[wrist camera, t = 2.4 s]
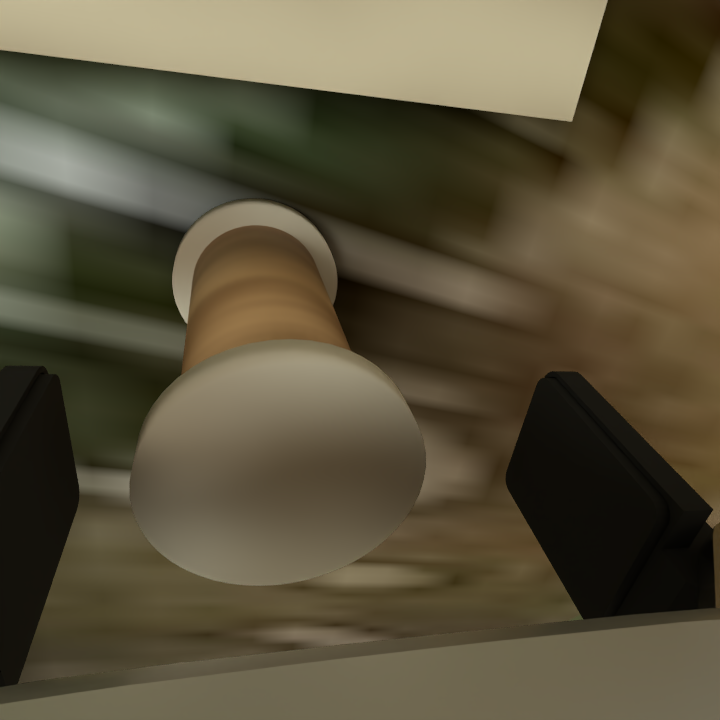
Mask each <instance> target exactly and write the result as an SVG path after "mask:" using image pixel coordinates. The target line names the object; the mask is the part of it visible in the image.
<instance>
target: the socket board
mask: <svg viewBox="0 0 720 720" xmlns="http://www.w3.org/2000/svg"><path fill="white" fill-rule="evenodd" d="M607 1H608V0H0V50H6V51H14V52H22V53H30V54H38V55H46V56H54V57H62V58H70V59H77V60H85V61H93V62H101V63H109V64H117V65H125V66H133V67H141V68H149V69H157V70H165V71H173V72H181V73H189V74H197V75H205V76H213V77H220V78H228V79H236V80H244V81H252V82H260V83H268V84H276V85H284V86H292V87H300V88H308V89H316V90H324V91H332V92H340V93H348V94H356V95H363V96H371V97H379V98H387V99H395V100H403V101H411V102H419V103H427V104H435V105H443V106H451V107H459V108H467V109H475V110H483V111H491V112H499V113H507V114H514V115H522V116H530V117H538V118H546V119H554V120H562V121H570V122H572V119H573V116H574V113H575V109H576V106H577V102H578V99H579V96H580V92H581V89H582V86H583V82H584V79H585V75H586V72H587V69H588V65H589V62H590V58H591V55H592V52H593V48H594V45H595V41H596V38H597V35H598V31H599V28H600V24H601V21H602V18H603V14H604V11H605V7H606V4H607Z"/></svg>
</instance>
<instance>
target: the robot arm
mask: <svg viewBox="0 0 720 720" xmlns="http://www.w3.org/2000/svg"><path fill="white" fill-rule="evenodd" d="M506 485H507V488H508V490H509V492H510V494H511V495H512V497H513V499H514V500H515V502H516V504H517V506H518V507H519V509H520V511H521V513H522V514H523V516H524V518H525V519H526V521H527V523H528V525H529V526H530V528H531V530H532V531H533V533H534V535H535V537H536V538H537V540H538V542H539V544H540V545H541V547H542V549H543V550H544V552H545V554H546V556H547V557H548V559H549V561H550V563H551V564H552V566H553V568H554V569H555V571H556V573H557V575H558V576H559V578H560V580H561V582H562V583H563V585H564V587H565V588H566V590H567V592H568V594H569V595H570V597H571V599H572V601H573V602H574V604H575V606H576V607H577V609H578V611H579V613H580V614H581V616H582V618H583V619H584V620H574V621H564V622H554V623H544V624H534V625H524V626H514V627H504V628H495V629H485V630H476V631H467V632H457V633H448V634H438V635H429V636H419V637H410V638H401V639H391V640H382V641H373V642H363V643H354V644H345V645H335V646H326V647H317V648H308V649H299V650H291V651H282V652H273V653H264V654H255V655H246V656H237V657H228V658H219V659H210V660H201V661H192V662H184V663H175V664H166V665H157V666H149V667H142V668H134V669H126V670H118V671H110V672H103V673H95V674H87V675H79V676H71V677H64V678H56V679H48V680H40V681H34V682H28V683H22V684H17V683H18V681H19V678H20V675H21V672H22V669H23V667H24V664H25V661H26V658H27V655H28V652H29V649H30V646H31V643H32V640H33V637H34V634H35V631H36V628H37V625H38V622H39V619H40V616H41V614H42V611H43V608H44V605H45V602H46V599H47V596H48V593H49V590H50V587H51V584H52V581H53V578H54V575H55V572H56V569H57V566H58V563H59V561H60V558H61V555H62V552H63V549H64V546H65V543H66V540H67V537H68V534H69V531H70V528H71V525H72V522H73V519H74V516H75V513H76V510H77V507H78V502H79V484H78V479H77V473H76V468H75V462H74V457H73V451H72V446H71V440H70V434H69V429H68V423H67V418H66V412H65V407H64V401H63V396H62V390H61V384H60V380H59V377H58V376H57V375H56V374H48V372H47V370H46V368H45V367H43V366H5V367H4V368H3V369H2V370H1V372H0V720H720V523H718V524H717V525H716V526H715V527H714V528H713V529H712V528H711V527H710V526H709V525H708V524H707V523H706V520H707V518H708V517H709V515H710V514H711V512H712V511H713V509H712V508H711V507H710V506H709V505H708V504H707V503H706V502H705V501H704V500H703V499H702V498H701V497H700V496H699V495H698V494H697V493H696V492H695V490H694V489H693V488H692V487H691V486H690V485H689V484H688V483H687V482H686V481H685V480H684V479H683V478H682V477H681V476H680V475H679V474H678V473H677V472H676V471H675V470H674V469H673V468H672V467H671V466H670V465H669V464H668V463H667V462H666V461H665V460H664V459H663V458H662V457H661V456H660V455H659V454H658V453H657V452H656V451H655V450H654V449H653V448H652V447H651V446H650V445H649V444H648V443H647V442H646V441H645V440H644V438H643V437H642V436H641V435H640V434H639V433H638V432H637V431H636V430H635V429H634V428H633V427H632V426H631V425H630V424H629V423H628V422H627V421H626V420H625V419H624V418H623V417H622V416H621V415H620V414H619V413H618V412H617V411H616V410H615V409H614V408H613V407H612V406H611V405H610V404H609V403H608V402H607V401H606V400H605V399H604V398H603V397H602V396H601V395H600V394H599V393H598V392H597V391H596V390H595V389H594V388H593V387H592V385H591V384H590V383H589V382H588V381H587V380H586V379H585V378H584V377H583V376H582V375H581V374H579V373H578V372H554V371H552V372H549V373H548V374H547V375H546V376H545V378H542V379H540V380H539V381H538V383H537V386H536V389H535V392H534V394H533V397H532V400H531V403H530V406H529V409H528V411H527V414H526V417H525V420H524V423H523V426H522V429H521V431H520V434H519V437H518V440H517V443H516V446H515V449H514V451H513V454H512V457H511V460H510V463H509V466H508V469H507V472H506Z"/></svg>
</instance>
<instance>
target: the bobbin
mask: <svg viewBox="0 0 720 720" xmlns="http://www.w3.org/2000/svg"><path fill="white" fill-rule="evenodd" d="M172 286H173V294H174V298H175V301H176V304H177V307H178V309H179V311H180V314H181V315H182V317H183V318H184V320H185V322H186V323H187V331H186V339H185V348H184V356H183V365H182V373H181V376H180V377H178V378H177V379H176V380H175V381H174V382H173V383H172V384H171V385H170V386H169V387H168V388H167V389H166V390H165V391H163V393H162V394H161V395H160V397H159V398H158V399H157V400H156V402H155V403H154V404H153V406H152V407H151V409H150V411H149V413H148V415H147V416H146V418H145V420H144V422H143V425H142V428H141V431H140V434H139V437H138V442H137V447H136V451H135V456H134V461H133V466H132V472H131V477H130V501H131V506H132V510H133V514H134V516H135V519H136V521H137V524H138V526H139V528H140V529H141V531H142V532H143V534H144V536H145V537H146V539H147V540H148V541H149V542H150V543H151V544H152V545H153V546H154V548H155V549H156V550H157V551H158V552H160V553H161V554H162V555H163V556H165V557H166V558H167V559H168V560H170V561H171V562H173V563H175V564H176V565H178V566H179V567H181V568H183V569H185V570H187V571H189V572H192V573H194V574H196V575H199V576H202V577H205V578H208V579H211V580H215V581H220V582H224V583H230V584H238V585H253V586H266V585H280V584H287V583H294V582H299V581H303V580H308V579H312V578H315V577H318V576H322V575H325V574H328V573H330V572H333V571H335V570H338V569H340V568H342V567H345V566H346V565H348V564H350V563H352V562H354V561H356V560H358V559H360V558H361V557H363V556H364V555H366V554H367V553H369V552H371V551H372V550H373V549H375V548H376V547H377V546H378V545H380V544H381V543H382V542H384V541H385V540H386V539H387V538H388V537H389V536H390V535H391V534H392V533H393V532H394V531H395V530H396V529H397V528H398V527H399V525H400V524H401V523H402V522H403V521H404V519H405V518H406V516H407V515H408V513H409V512H410V510H411V509H412V507H413V505H414V503H415V501H416V499H417V497H418V495H419V493H420V490H421V487H422V483H423V480H424V474H425V468H426V453H425V447H424V441H423V438H422V435H421V432H420V429H419V427H418V425H417V423H416V421H415V419H414V417H413V415H412V413H411V411H410V409H409V407H408V405H407V403H406V401H405V399H404V397H403V395H402V394H401V392H400V390H399V388H398V387H397V386H396V385H395V384H394V382H393V381H392V380H391V379H390V377H389V376H388V375H386V374H385V373H384V372H383V371H382V370H381V369H380V368H379V367H378V366H376V365H375V364H373V363H372V362H370V361H368V360H367V359H365V358H364V357H362V356H360V355H358V354H356V353H354V352H351V349H350V347H349V344H348V342H347V340H346V337H345V335H344V332H343V330H342V327H341V325H340V322H339V320H338V318H337V315H336V313H335V310H334V308H333V304H334V301H335V298H336V292H337V270H336V266H335V262H334V259H333V256H332V254H331V251H330V249H329V247H328V245H327V243H326V241H325V239H324V238H323V236H322V234H321V233H320V232H319V230H318V229H317V228H316V226H315V225H314V224H313V223H312V222H311V221H310V220H309V219H308V218H306V217H305V216H304V215H302V214H301V213H300V212H298V211H296V210H295V209H293V208H291V207H289V206H287V205H284V204H282V203H279V202H275V201H272V200H266V199H254V198H247V199H239V200H234V201H230V202H226V203H224V204H221V205H219V206H217V207H215V208H213V209H211V210H209V211H208V212H206V213H205V214H203V215H202V216H201V217H200V218H198V219H197V220H196V221H195V222H194V223H193V224H192V225H191V227H190V228H189V229H188V231H187V232H186V233H185V235H184V237H183V239H182V241H181V243H180V244H179V247H178V250H177V253H176V258H175V263H174V268H173V275H172Z"/></svg>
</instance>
